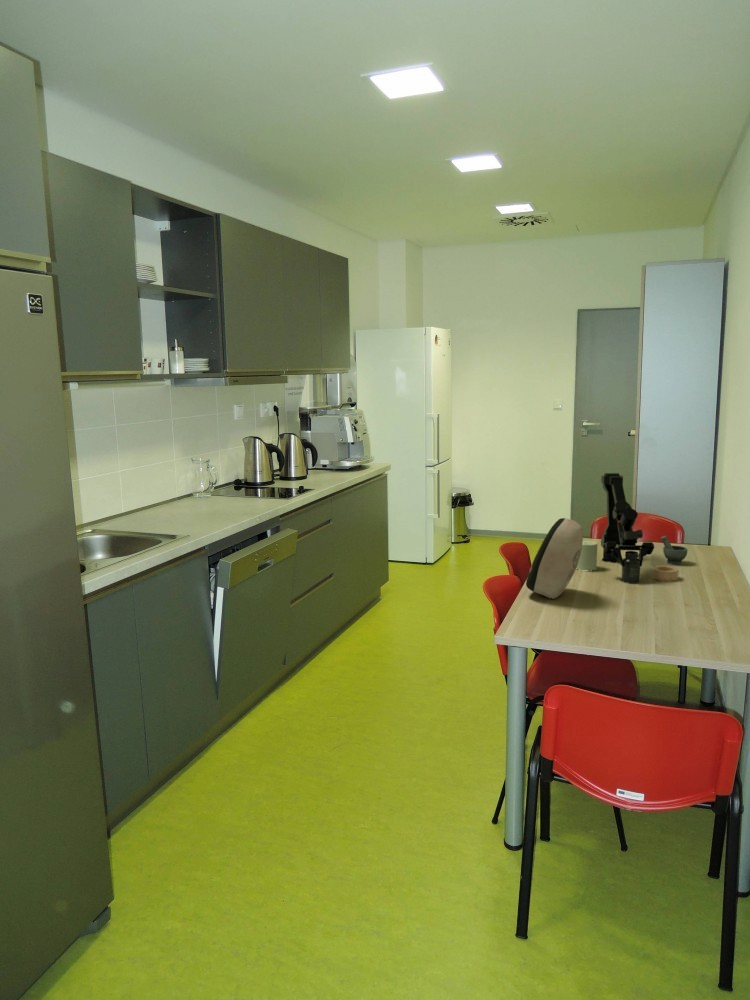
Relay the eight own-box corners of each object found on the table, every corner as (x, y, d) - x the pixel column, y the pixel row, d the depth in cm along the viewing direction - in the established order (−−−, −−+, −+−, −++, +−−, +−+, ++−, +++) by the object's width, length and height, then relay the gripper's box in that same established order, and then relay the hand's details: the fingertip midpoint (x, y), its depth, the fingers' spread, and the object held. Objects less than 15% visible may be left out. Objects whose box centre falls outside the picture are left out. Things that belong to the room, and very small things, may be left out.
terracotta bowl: (648, 579, 293) (649, 569, 293) (655, 573, 301) (656, 564, 300) (673, 582, 287) (674, 573, 287) (680, 577, 295) (681, 567, 294)
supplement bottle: (619, 578, 294) (620, 550, 292) (636, 579, 294) (638, 550, 292) (623, 583, 288) (625, 554, 286) (641, 583, 287) (642, 554, 285)
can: (573, 570, 308) (574, 543, 306) (576, 565, 317) (576, 538, 315) (595, 572, 305) (596, 544, 303) (597, 566, 313) (598, 540, 311)
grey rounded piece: (535, 584, 288) (537, 510, 283) (586, 590, 279) (588, 514, 275) (521, 599, 269) (522, 520, 264) (575, 606, 260) (577, 524, 255)
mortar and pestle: (687, 561, 319) (689, 535, 317) (685, 566, 311) (687, 539, 309) (660, 559, 324) (661, 533, 322) (657, 564, 316) (659, 537, 314)
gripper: (606, 522, 292) (611, 555, 283) (654, 522, 290) (661, 555, 281) (601, 537, 301) (606, 569, 292) (647, 537, 299) (654, 570, 290)
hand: (631, 566), depth 288 cm, fingers closed on supplement bottle, 7 cm apart
